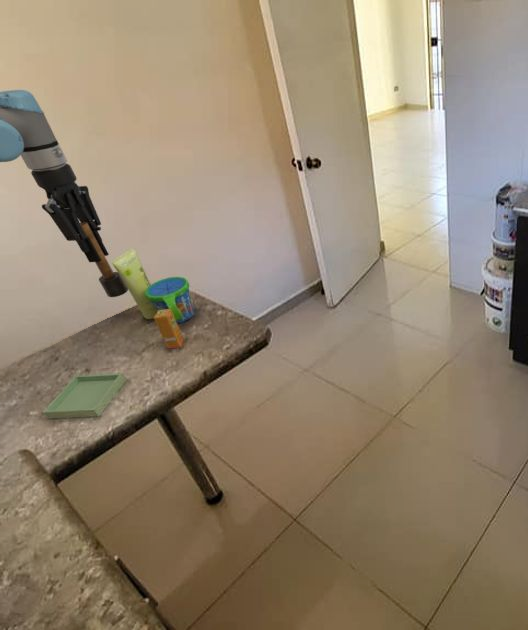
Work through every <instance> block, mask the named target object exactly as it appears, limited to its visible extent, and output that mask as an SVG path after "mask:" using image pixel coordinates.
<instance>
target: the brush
mask: <svg viewBox="0 0 528 630" xmlns="http://www.w3.org/2000/svg"><path fill="white" fill-rule="evenodd" d="M80 225H81V227H82V229H83V232H84V234H85V236H86V237H89V238H90V240H91V242H92V244H93V245H94V247H95V249H96V251H97V253H98V255H99V257H100V258H101V261H100V262H94V263H95V265H96V267H97V268H98V270H99V272H100V274H101V276H100V277H99V278H98V281H99V283H100V285H101V287H102V289H103V290H104V292H105V294H106V296H107V297H109V298H117V297H121V296H123V295H125V294H126V293H127V292H128V291H129V290H128V288H127V286H126V284H125V283H124V281H123V280H122V278H121V276H120V275H119V273H118V272H117V271H113V269H112V267H111V264H110V262H109V261H108V259H107V258H106V257H107V256H105V255H104V253H103V252H102V250H101V248H100V246H99V244H98V242H97V240H96V238H95V236H94V235H93V233H92V231H91V229H90V227H89V225H88V223H87V222H80Z"/></svg>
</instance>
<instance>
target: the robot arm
mask: <svg viewBox="0 0 528 630" xmlns="http://www.w3.org/2000/svg"><path fill="white" fill-rule="evenodd" d="M20 157H21V158H22V161H23V163H24V164H25V166H26V168H27V169H29V170H31V172H30V174H31V176H32V178H33V179H34V181H35V182H36V184H37V186H38V187H39V188H41V189H43V190H44V192H45V194H46V198H47V201H46V203H44V204H41V209H42V210H44V212H46V213H47V214H48V215H49V217H50V218H51V219H52V221H53V222H54V224H55V225H56V227H57V228H58V229H59V231H60V232H61V234H62V235H63V236H64V238H65V240H66V241H68V242H73V241H74V242H76V243H77V245H78V247H79V249H80V251H81V252H82V253H84V255H85V258H86V259H87V261H88V263H95V262H100V261H101V258H100V257H99V255H98V253H97V251H96V249H95V247H94V245H93V244H92V242H91V240H90V238H89V237H86V236H85V234H84V232H83V229H82V227H81V225H80V223H81V222H87V223H88V225H89V227H90V229H91V231H92V233H93V235H94V236H95V238H96V240H97V242H98V244H99V246H100V248H101V250H102V252H103V253H104V255H105V257H108V256H109V252H108V250H107V248H106V247H105V244H104V242H103V238H102V237H101V234H100V232H99V231H101V230H102V227H101V225H102V222H101V220H100V217H99V215H98V212H97V211H96V207H95V205H94V204H93V200H92V199H91V195H90V192H89V187H88V186H87V185H78V183H76V181H77V176H76V174H75V172H74V170H73V168H72V166H71V165H70V164H69V163H67V162H68V159H67V157H66V155H65V153H64V152H63V150H62V147H61V146H60V143H59V142H58V139H57V137H56V135H55V134H54V132H53V129H52V128H51V125H50V124H49V121H48V120H47V117H46V115H45V112H44V111H43V110H42V108H41V106H40V104H39V102H38V101H37V99H36V98H35V96H34V95H33V93H31V92H30V91H28V90H26V89H12V90H3V91H0V163H8V162H13V161H15V160H17V159H18V158H20Z"/></svg>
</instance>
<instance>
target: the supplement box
mask: <svg viewBox="0 0 528 630" xmlns="http://www.w3.org/2000/svg"><path fill="white" fill-rule="evenodd" d="M153 320H154V321H155V324H156V327H157V328H158V330H159V332H160V335H161V337H162V339H163V341H164V343H165V345H166V347H167V349H170V350H171V349H177V348H181V347H182V346H183V344H184V341H185V339H184V337H183V336H184V335H183V334H182V332H181V330H180V327H179V323H177V322H176V320H175V317H174V315H173V313H172V310H171V309H164V310H158V311H157V314H156V315H155V316H154V319H153Z"/></svg>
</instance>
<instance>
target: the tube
mask: <svg viewBox="0 0 528 630" xmlns="http://www.w3.org/2000/svg"><path fill="white" fill-rule="evenodd" d="M110 261H111V265H112V266H113V267H114V269H115V270H116V272H118V273H119V275H120V276H121V278H122V280H123V281H124V283H125V284H126V286H127V288H128V291H129V294H131V296H132V298H133V300H134V302H135V303H136V305H137V307H138V308H139V311H140V313H141V314H142V316H143V318H144V319H146V320H155V319H154V316H155V315H156V314H157V311H158V310H157V309H156V307H155V306H154V305H153V303H152V302H151V301H150V300H149V299H148V298H147V297H146V294H145V291H146V289H147V288H148V287H149V286H150V285H152V283H151V282H150V280H149V278H148V276H147V274H146V272H145V269H144V267H143V265H142V263H141V260H140V258H139V256H138V253H137V251H136V248H135V247H132V248H131V249H129V250H127V251H126V252H124V253H123V254H121V255H119V256H118V257H116V258H114V259H112V260H110Z"/></svg>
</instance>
